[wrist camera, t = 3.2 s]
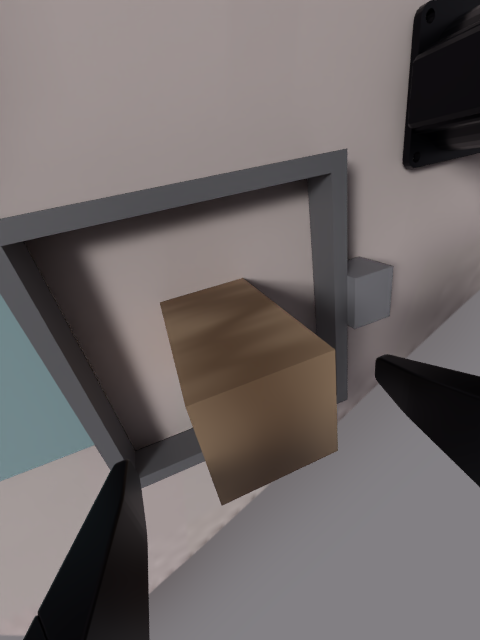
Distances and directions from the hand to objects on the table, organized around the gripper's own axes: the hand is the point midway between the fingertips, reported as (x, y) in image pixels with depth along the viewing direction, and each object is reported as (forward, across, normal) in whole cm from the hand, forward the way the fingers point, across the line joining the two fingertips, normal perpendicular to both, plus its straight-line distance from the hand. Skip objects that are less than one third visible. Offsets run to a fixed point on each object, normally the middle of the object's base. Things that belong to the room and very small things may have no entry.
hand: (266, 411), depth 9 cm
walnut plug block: (+7, 0, 0) cm, 7 cm away
